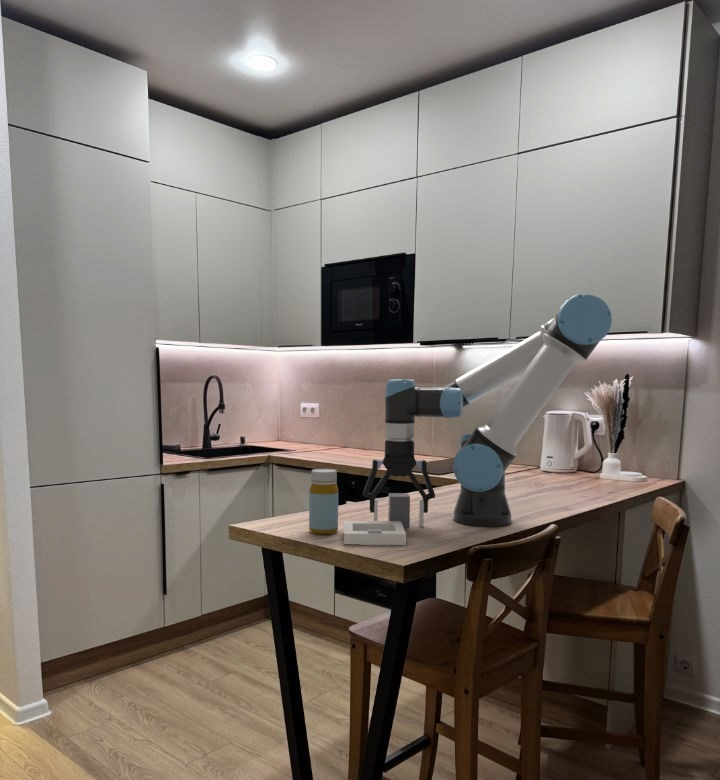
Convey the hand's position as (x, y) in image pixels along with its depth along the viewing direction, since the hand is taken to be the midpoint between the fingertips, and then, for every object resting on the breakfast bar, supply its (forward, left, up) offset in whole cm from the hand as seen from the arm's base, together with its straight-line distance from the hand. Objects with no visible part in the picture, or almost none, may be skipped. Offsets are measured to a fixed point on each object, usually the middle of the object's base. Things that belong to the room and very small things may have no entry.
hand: (398, 525), depth 158 cm
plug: (0, 0, 0) cm, 0 cm away
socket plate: (+7, +12, 0) cm, 14 cm away
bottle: (+19, +6, 0) cm, 20 cm away
